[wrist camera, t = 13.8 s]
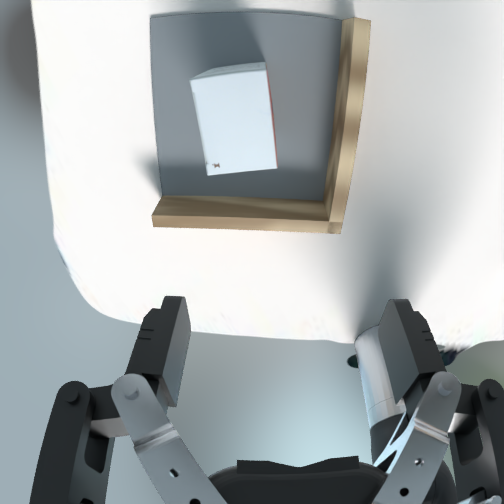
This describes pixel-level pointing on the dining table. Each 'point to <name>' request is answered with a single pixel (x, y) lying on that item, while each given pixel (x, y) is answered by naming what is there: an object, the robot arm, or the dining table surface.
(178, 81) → the mat
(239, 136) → the small box
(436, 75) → the dining table surface
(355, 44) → the corner walls
